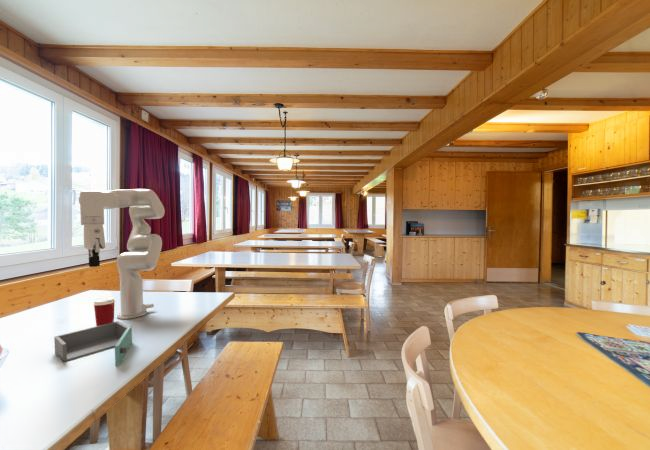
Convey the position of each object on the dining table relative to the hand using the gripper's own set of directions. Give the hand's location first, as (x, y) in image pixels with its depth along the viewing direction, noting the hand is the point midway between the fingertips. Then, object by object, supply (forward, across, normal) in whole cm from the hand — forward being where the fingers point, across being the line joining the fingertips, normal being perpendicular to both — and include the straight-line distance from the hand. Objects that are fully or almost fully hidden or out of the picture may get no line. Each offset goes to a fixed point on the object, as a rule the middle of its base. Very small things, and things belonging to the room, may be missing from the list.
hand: (94, 266), depth 124 cm
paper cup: (+29, +4, -4) cm, 30 cm away
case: (+29, -11, +4) cm, 31 cm away
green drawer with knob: (+29, -27, -2) cm, 39 cm away
